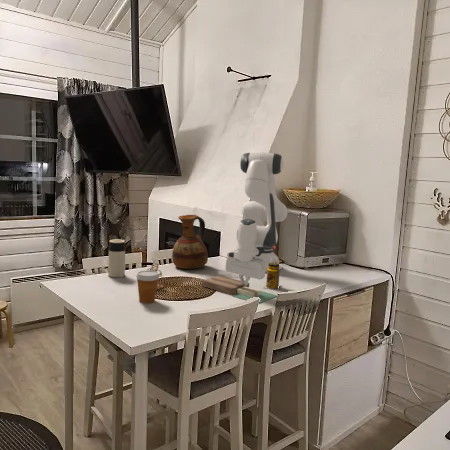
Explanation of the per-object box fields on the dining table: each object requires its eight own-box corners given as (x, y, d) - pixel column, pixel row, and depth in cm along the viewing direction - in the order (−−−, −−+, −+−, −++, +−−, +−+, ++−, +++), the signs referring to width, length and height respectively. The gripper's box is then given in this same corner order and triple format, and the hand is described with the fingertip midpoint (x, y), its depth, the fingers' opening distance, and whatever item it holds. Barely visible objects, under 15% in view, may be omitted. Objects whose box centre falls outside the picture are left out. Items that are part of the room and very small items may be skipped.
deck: (219, 281, 212) (220, 275, 212) (248, 289, 201) (249, 283, 201) (201, 286, 201) (201, 280, 201) (231, 295, 190) (231, 288, 190)
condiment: (263, 288, 204) (265, 264, 203) (268, 284, 212) (269, 260, 211) (278, 290, 202) (279, 266, 200) (282, 286, 210) (284, 262, 208)
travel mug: (119, 278, 207) (119, 242, 205) (105, 276, 210) (105, 241, 207) (127, 275, 215) (128, 240, 212) (114, 273, 217) (114, 238, 215)
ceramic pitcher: (165, 265, 239) (166, 213, 235) (192, 261, 252) (195, 212, 248) (186, 273, 225) (188, 217, 220) (214, 268, 238) (217, 216, 234)
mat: (252, 289, 201) (252, 288, 201) (277, 296, 193) (278, 295, 193) (232, 296, 189) (232, 295, 189) (258, 303, 180) (258, 303, 180)
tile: (244, 290, 198) (244, 286, 197) (260, 294, 192) (260, 290, 192) (236, 293, 193) (237, 288, 193) (252, 297, 187) (253, 293, 187)
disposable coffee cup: (138, 305, 170) (138, 276, 168) (133, 298, 179) (134, 270, 177) (161, 303, 174) (162, 275, 172) (155, 296, 182) (156, 269, 181)
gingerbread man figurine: (159, 286, 198) (159, 261, 197) (164, 288, 196) (165, 262, 194) (143, 289, 192) (144, 263, 190) (149, 291, 189) (149, 265, 188)
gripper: (268, 258, 188) (266, 288, 190) (232, 250, 201) (231, 279, 203) (261, 260, 183) (259, 291, 185) (224, 252, 196) (222, 281, 198)
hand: (244, 284), depth 194 cm, fingers closed
